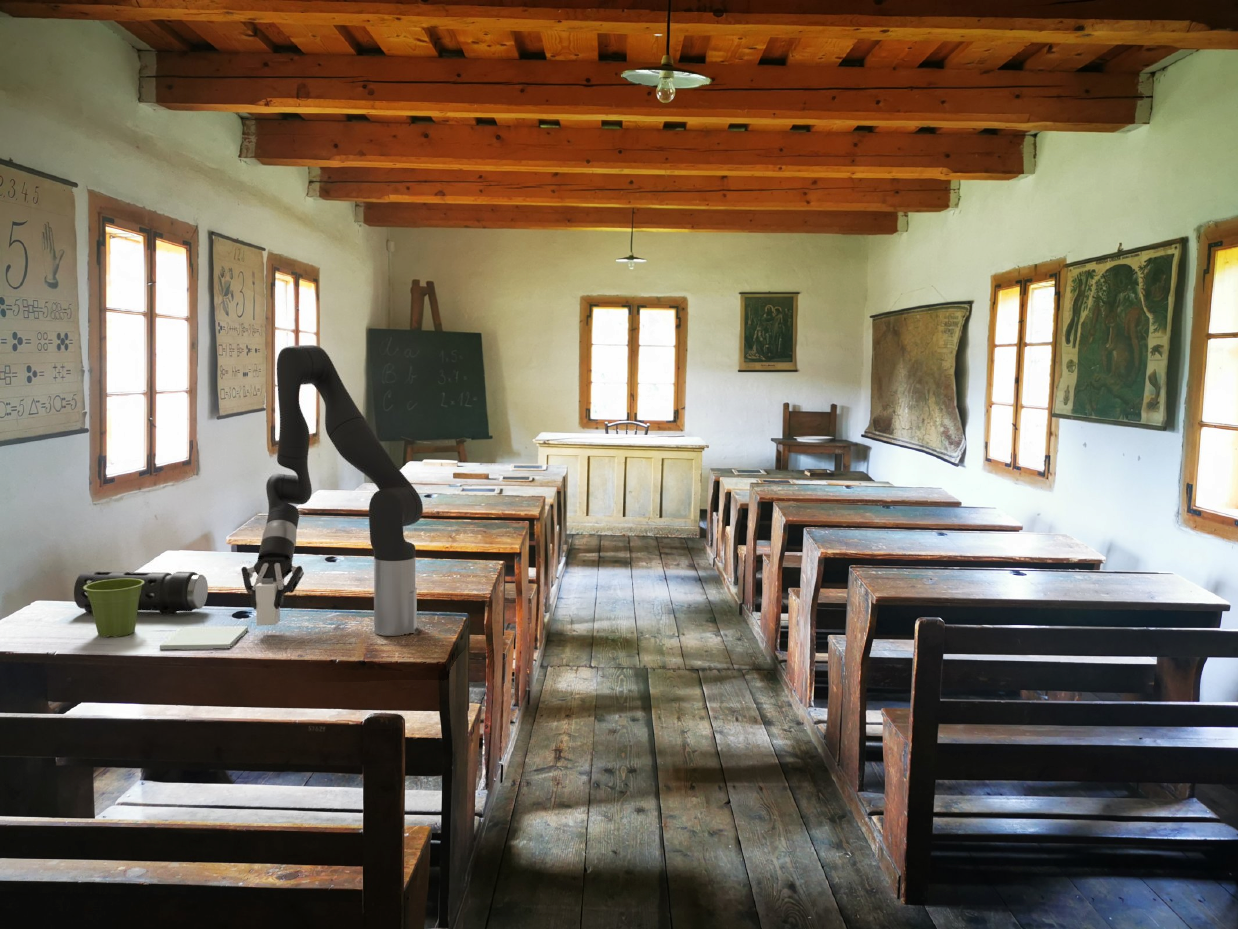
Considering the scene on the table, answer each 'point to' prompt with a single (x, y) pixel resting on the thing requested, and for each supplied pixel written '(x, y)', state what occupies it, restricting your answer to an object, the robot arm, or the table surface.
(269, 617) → the plug block
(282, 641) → the table surface
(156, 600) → the muzzle brake
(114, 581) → the plant pot
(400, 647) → the table surface
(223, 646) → the board
